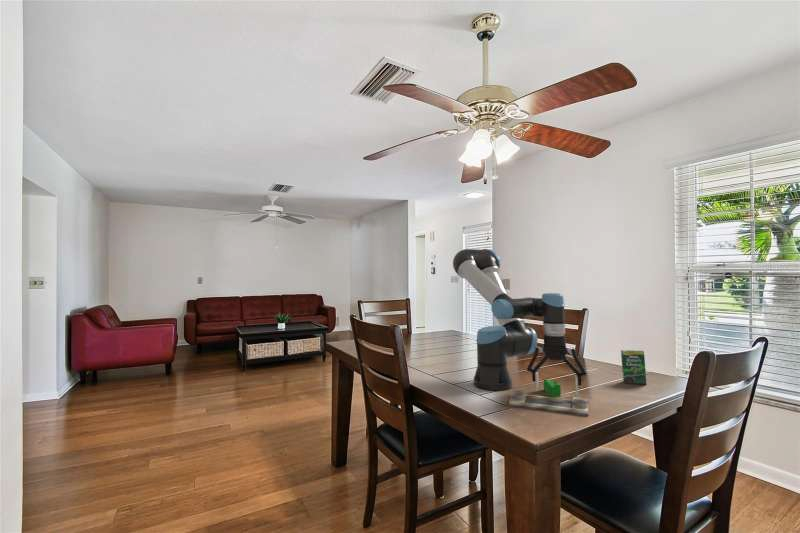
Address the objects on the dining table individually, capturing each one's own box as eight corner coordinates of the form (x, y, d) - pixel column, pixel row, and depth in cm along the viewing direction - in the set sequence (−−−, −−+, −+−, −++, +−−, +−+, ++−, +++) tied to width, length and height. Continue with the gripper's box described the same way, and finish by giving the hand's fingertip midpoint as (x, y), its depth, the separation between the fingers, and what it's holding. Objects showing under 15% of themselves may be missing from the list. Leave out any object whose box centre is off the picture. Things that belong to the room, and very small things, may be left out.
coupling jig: (508, 405, 125) (507, 394, 125) (512, 396, 134) (512, 386, 134) (589, 416, 114) (589, 404, 114) (588, 405, 123) (588, 394, 123)
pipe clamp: (563, 400, 130) (563, 387, 130) (552, 399, 130) (552, 387, 130) (554, 390, 141) (553, 378, 141) (543, 390, 142) (543, 378, 142)
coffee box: (622, 383, 148) (621, 350, 149) (622, 381, 151) (620, 349, 151) (646, 385, 145) (645, 352, 145) (645, 383, 147) (644, 350, 148)
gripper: (518, 334, 138) (520, 391, 137) (592, 337, 128) (595, 399, 127) (520, 332, 145) (522, 386, 144) (591, 334, 134) (594, 393, 133)
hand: (556, 392), depth 135 cm, fingers open, 13 cm apart
